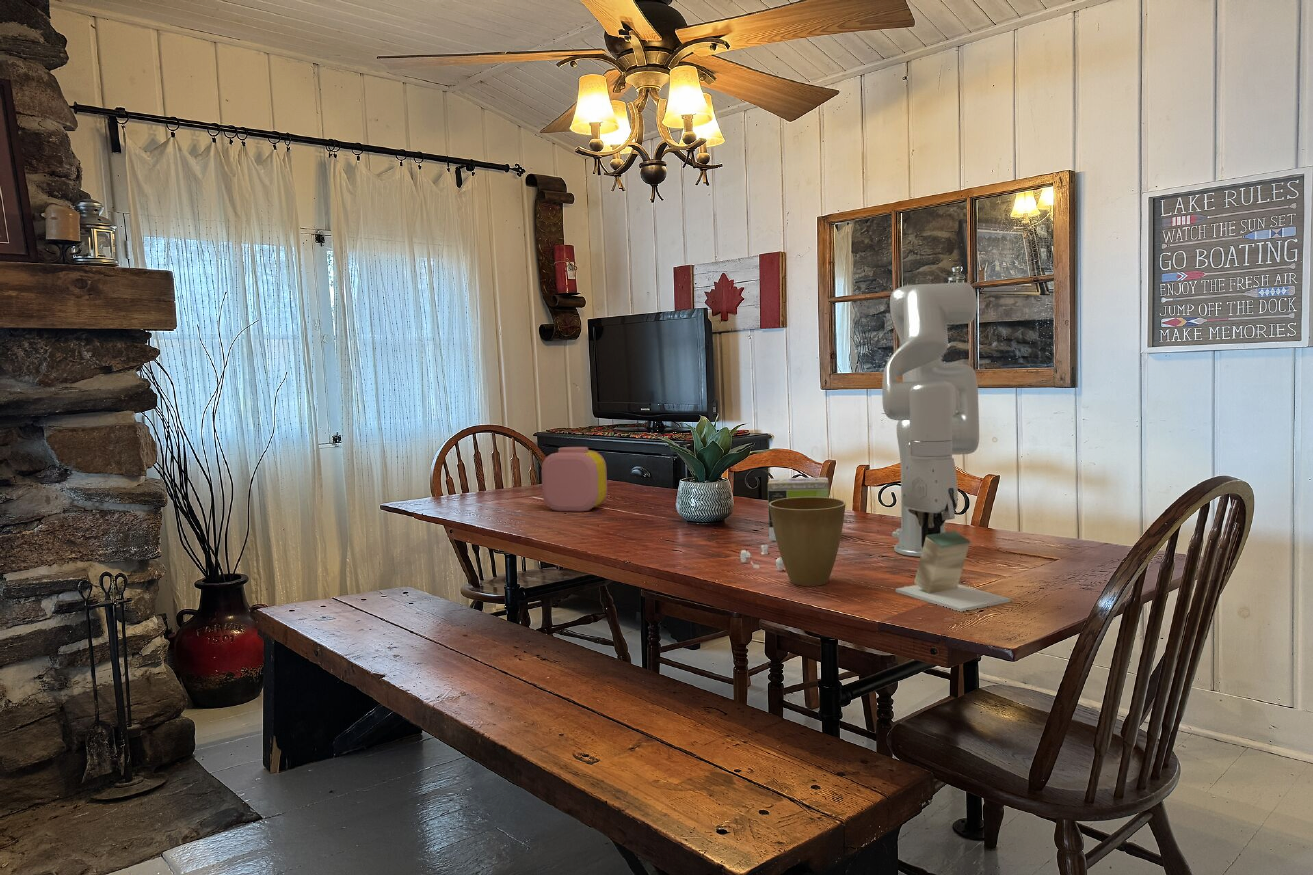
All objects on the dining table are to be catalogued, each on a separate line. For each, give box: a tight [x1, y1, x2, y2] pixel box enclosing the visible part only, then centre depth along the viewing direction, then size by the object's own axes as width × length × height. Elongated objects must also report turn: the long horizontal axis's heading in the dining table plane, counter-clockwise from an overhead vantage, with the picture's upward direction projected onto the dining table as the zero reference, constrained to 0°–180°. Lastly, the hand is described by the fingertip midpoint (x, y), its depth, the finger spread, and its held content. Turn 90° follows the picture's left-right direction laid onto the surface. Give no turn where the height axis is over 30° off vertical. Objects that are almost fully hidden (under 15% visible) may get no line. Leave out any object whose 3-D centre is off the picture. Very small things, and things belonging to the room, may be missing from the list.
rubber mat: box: [895, 583, 1011, 613], centre depth 158 cm, size 16×12×1 cm
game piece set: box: [739, 544, 785, 572], centre depth 191 cm, size 19×20×4 cm
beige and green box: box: [913, 530, 971, 594], centre depth 160 cm, size 4×7×10 cm, turn 116°
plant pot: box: [769, 497, 847, 587], centre depth 171 cm, size 15×15×16 cm
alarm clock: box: [540, 446, 608, 513], centre depth 270 cm, size 18×11×19 cm, turn 74°
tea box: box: [767, 476, 830, 542], centre depth 216 cm, size 15×10×15 cm, turn 80°
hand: (931, 547), depth 162 cm, fingers closed
